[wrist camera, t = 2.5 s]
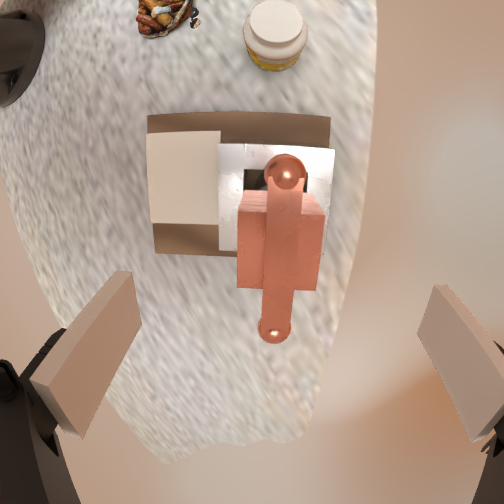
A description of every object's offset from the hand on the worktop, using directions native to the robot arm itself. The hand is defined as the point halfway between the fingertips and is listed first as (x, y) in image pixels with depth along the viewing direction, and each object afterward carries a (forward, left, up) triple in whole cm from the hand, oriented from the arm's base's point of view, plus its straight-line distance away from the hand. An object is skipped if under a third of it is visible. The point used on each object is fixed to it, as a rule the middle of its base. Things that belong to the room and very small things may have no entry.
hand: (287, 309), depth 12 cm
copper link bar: (0, 0, -21) cm, 21 cm away
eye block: (0, 0, -21) cm, 21 cm away
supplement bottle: (-15, -1, -22) cm, 27 cm away
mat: (-1, -10, -21) cm, 23 cm away
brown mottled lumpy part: (-24, -13, -23) cm, 35 cm away
